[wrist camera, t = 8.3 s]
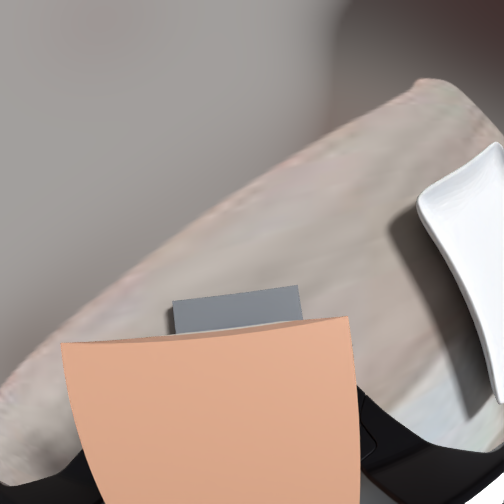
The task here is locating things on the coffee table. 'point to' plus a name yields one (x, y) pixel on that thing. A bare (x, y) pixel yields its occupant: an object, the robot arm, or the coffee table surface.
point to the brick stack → (220, 415)
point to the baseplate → (237, 309)
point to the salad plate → (474, 245)
